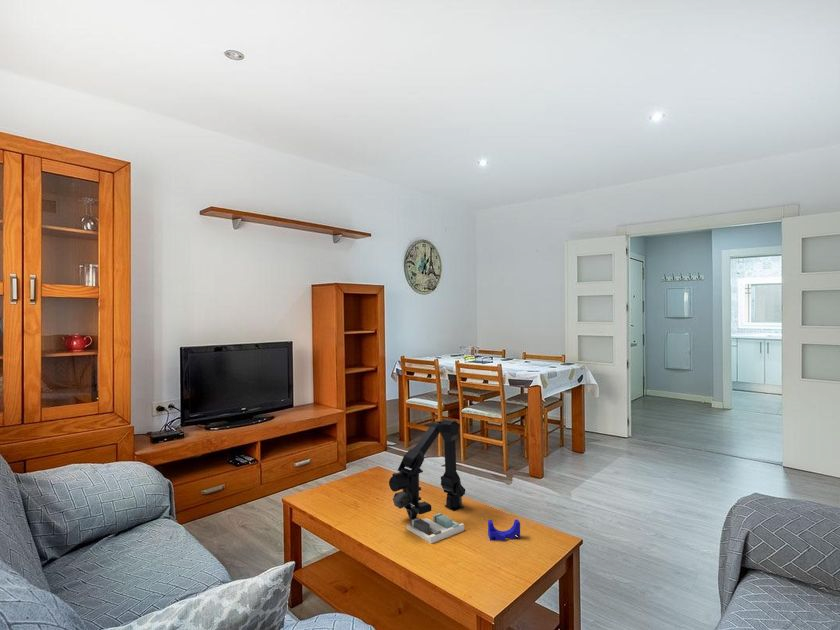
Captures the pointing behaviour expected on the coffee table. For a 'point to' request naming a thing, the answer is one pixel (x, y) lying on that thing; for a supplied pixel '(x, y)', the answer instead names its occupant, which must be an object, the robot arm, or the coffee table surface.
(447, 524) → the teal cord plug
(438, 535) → the slot rack
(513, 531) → the blue cradle block
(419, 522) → the dark grey block
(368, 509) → the coffee table surface
